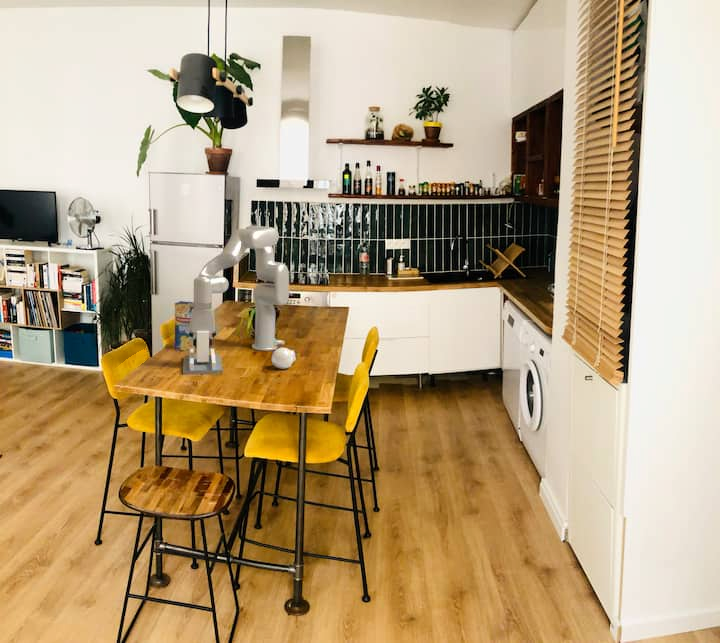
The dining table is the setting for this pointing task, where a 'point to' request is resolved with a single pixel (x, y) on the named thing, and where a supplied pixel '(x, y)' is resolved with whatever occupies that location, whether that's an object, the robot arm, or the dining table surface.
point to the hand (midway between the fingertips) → (202, 347)
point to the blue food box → (183, 326)
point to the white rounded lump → (283, 358)
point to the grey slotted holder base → (202, 364)
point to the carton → (202, 346)
